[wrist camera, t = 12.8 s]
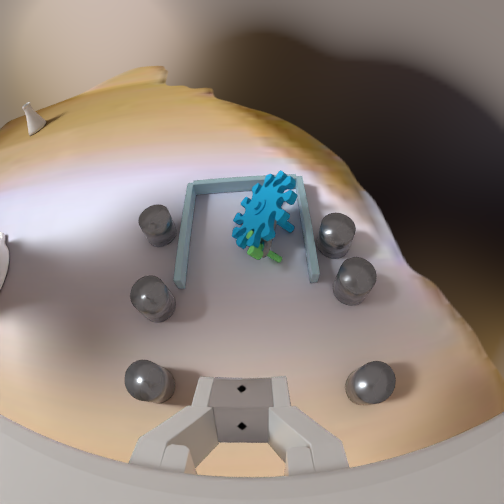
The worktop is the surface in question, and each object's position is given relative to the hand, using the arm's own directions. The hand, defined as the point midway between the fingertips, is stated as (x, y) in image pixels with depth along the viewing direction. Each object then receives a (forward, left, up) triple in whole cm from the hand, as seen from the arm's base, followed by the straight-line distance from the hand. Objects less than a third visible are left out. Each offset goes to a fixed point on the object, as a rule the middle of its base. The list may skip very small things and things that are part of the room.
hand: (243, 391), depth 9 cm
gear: (+1, +20, -18) cm, 27 cm away
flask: (-66, +67, -18) cm, 96 cm away
